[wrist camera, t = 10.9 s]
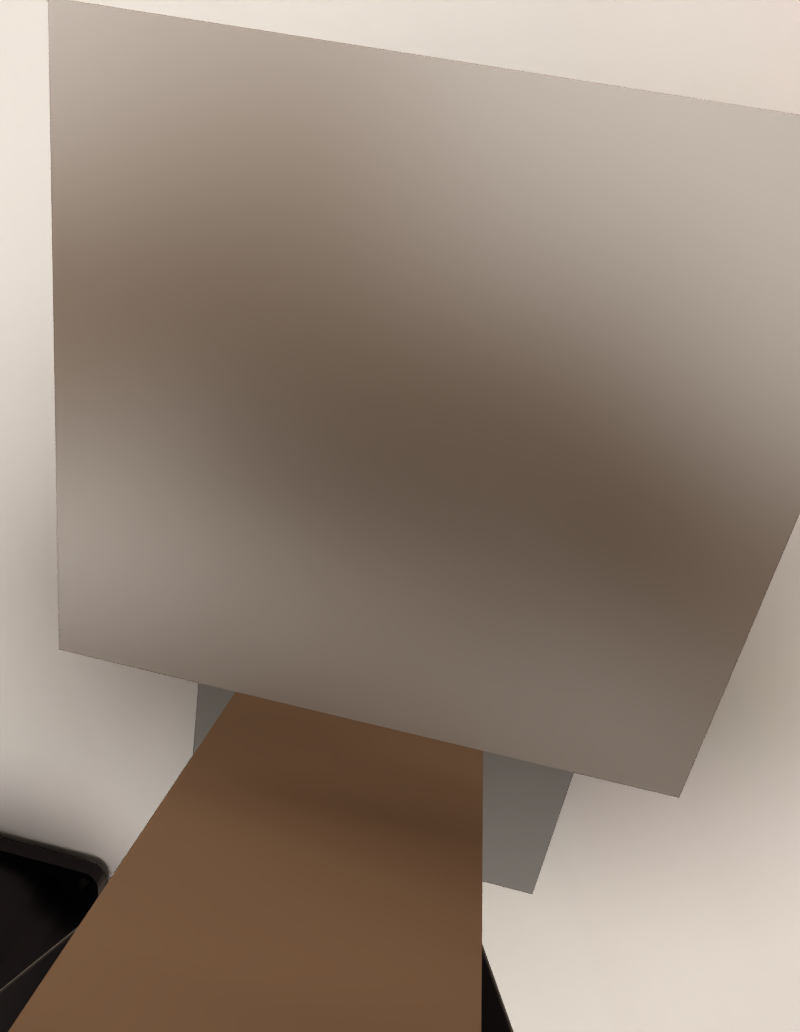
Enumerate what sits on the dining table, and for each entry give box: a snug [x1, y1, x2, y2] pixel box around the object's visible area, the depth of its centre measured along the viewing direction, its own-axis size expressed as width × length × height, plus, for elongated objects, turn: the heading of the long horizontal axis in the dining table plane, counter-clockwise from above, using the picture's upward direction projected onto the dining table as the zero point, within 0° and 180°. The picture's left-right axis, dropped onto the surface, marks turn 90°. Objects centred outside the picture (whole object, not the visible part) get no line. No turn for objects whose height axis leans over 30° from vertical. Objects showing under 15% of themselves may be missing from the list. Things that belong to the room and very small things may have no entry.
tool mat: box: [193, 683, 574, 894], centre depth 14 cm, size 10×18×1 cm, turn 170°
